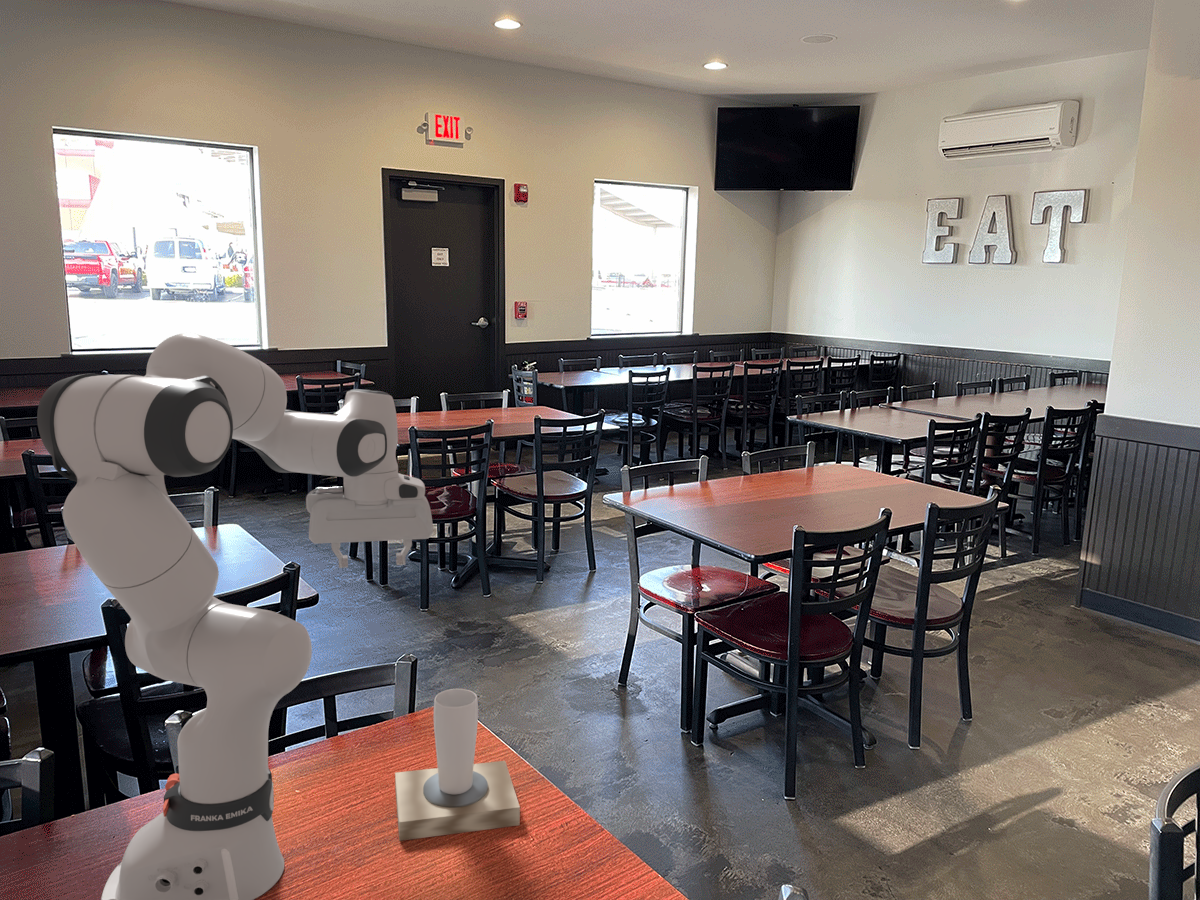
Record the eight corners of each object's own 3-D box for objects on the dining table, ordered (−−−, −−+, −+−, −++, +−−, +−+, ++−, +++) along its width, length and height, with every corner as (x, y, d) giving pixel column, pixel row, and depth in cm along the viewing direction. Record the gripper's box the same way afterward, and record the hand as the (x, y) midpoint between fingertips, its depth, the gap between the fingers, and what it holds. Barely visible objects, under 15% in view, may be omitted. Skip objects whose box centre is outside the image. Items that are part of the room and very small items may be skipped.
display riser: (399, 840, 130) (399, 818, 129) (395, 789, 143) (395, 769, 143) (519, 825, 135) (520, 803, 134) (504, 777, 148) (505, 757, 147)
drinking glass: (469, 801, 134) (469, 710, 132) (427, 796, 135) (426, 704, 133) (483, 778, 141) (483, 690, 138) (442, 773, 142) (442, 685, 139)
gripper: (304, 491, 141) (306, 574, 143) (433, 488, 146) (434, 567, 149) (306, 483, 147) (308, 563, 149) (430, 480, 152) (431, 557, 155)
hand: (372, 565), depth 149 cm, fingers open, 8 cm apart
